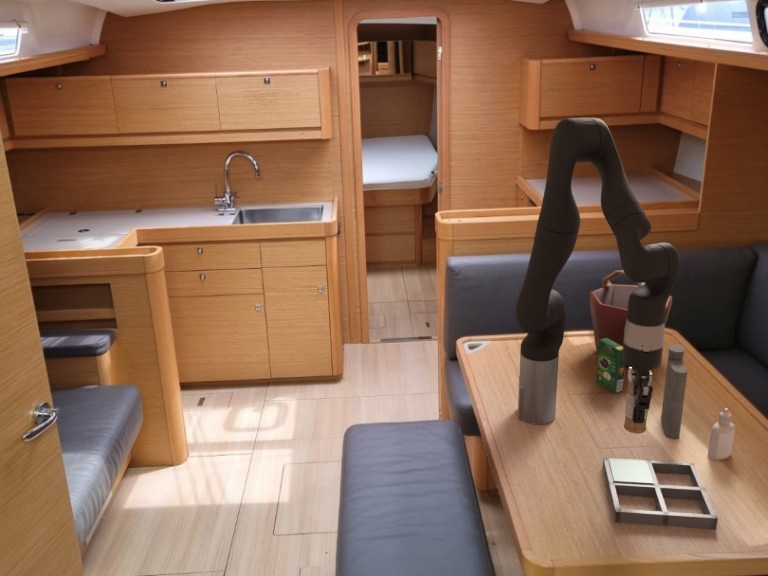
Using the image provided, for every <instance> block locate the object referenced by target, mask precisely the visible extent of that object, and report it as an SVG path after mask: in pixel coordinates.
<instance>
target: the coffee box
mask: <svg viewBox="0 0 768 576" xmlns="http://www.w3.org/2000/svg"><path fill="white" fill-rule="evenodd" d="M622 353H623V346H621V345H619V344H617V343H615V342H614V341H612V340H610V339H608V338H604V339H600V341H599V352H598V353H597V363H596V373H595V383H596V384H598V385H599V386H601V387H603V388H605V389H607V390H608V391H610V393H613V394H615V395H618V394H620V393H623V391H624V390H623V387H624V382H625V381H624V379H625V373H626V372H625V371H626V368H625V363H624V362H623V360H622Z"/></svg>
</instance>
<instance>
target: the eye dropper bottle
mask: <svg viewBox="0 0 768 576" xmlns="http://www.w3.org/2000/svg"><path fill="white" fill-rule="evenodd" d="M718 414H719V415H718V421H717V422H715V423H714V424H713V426H712V427H711V431H710V436H709V443H708V450H707V456H708V457H709V458H710V459H712V460H714V461H723V460H725V459H728V458H729V457H730V456H731V455H732V452H733V446H734V439H735V430H736V426H735V425H736V424H734V423H733V422H732V421H731V420H732V414H731V413H730V412H729V409H728V408H727V407H725V408H723V411H721V412H719V413H718Z"/></svg>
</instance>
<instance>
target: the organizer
mask: <svg viewBox="0 0 768 576" xmlns="http://www.w3.org/2000/svg"><path fill="white" fill-rule="evenodd" d="M602 459H603V460H602V471H603V474H604V475H603V476H604V481H605V484H606V489H607V494H608V497H609V501H610V506H611V511H612V516H613V521H614V523H621V524H624V523H625V524H637V525H650V526H651V525H653V526H664V527H665V526H667V527H681V528H694V529H695V528H696V529H709V530H716V529H717V527H718V526H717V525H718V519H719V518H718V516H717V512H716V511H715V509H714V507H713V504H712V502H711V499H710V497H709V495H708V492H707V490H706V488H705V486H704V484H703V480H702V478H701V476H700V475H699V474H700V473H699V471H698V470H697V467H696V465H695V462H686V461H684V462H683V461H666V460H650V459H648V460H647V459H633V458H631V459H629V458H616V457H615V458H613V457H603V458H602ZM656 474H664V475H665V474H667V475H681V476H683V475H685V476H689V479H690V482H691V484H692V486H685V485H684V486H683V485H671V484H670V485H669V484H659V481H658V478H657V476H656ZM618 496H627V497H640V498H642V497H643V498H653V501H654V503H655V506H656V510H644V509H629V508H627V509H626V508H621V506H620V502H619V498H618ZM665 499H671V500H672V499H673V500H686V501H687V500H688V501H689V500H691V501H699V504H700V507H701V509H702V510H703V513H692V512H691V513H690V512H689V513H687V512H673V511H668V509H667V508H668V507H667V505H666V502H665Z"/></svg>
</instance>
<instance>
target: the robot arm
mask: <svg viewBox="0 0 768 576" xmlns="http://www.w3.org/2000/svg"><path fill="white" fill-rule="evenodd" d="M616 146H617V145H616V144H615V140H614V138H613V135H612V133H611V131H610V128H609V127H608V125H607V124H606V123H605V122H604V120H602V119H601V118H597V117H571V118H564V119H561V120H560V121H559V122H558V123H556V126H555V127H554V129H553V132H552V135H551V140H550V147H549V156H548V163H547V164H548V165H547V173H546V180H545V185H544V187H545V188H544V192H543V197H542V202H541V206H540V207H541V208H540V212H539V216H538V219H537V223H536V228H535V233H534V237H533V238H534V239H533V245H532V249H531V252H530V257H529V261H528V264H527V271H526V273H525V277H524V280H523V283H522V286H521V290H520V292H519V295H518V298H517V301H516V305H515V310H514V313H515V320H516V323H517V325H518V327H519V328H520V329H521V330H522V331H523V332H525V333H527V334H526V335H525V337H524V338H523V339H522V340H521V343H520V348H519V349H520V351H519V352H520V353H519V354H520V355H519V357H520V358H519V376H518V395H517V396H518V398H517V416H518V417H517V420H518V421H522V422H523V421H524V422H525V423H529V424H532V425H533V424H534V425H545V424H550V423H551V422H553V421H554V420H555V418H556V413H557V412H556V411H557V391H558V390H557V389H558V374H559V361H560V355H559V354H560V349H561V347H562V345H563V342H564V335H565V334H564V333H565V329H566V328H565V325H566V316H567V315H566V314H567V310H566V304H565V301H564V299H563V297H562V295H561V294H560V292H558V291H556V290H555V289H553V287H554V284H555V282H556V280H557V278H558V276H559V275H560V273H561V272H562V270H563V268H564V267H565V265H566V264H567V262H568V260H569V259H570V257H571V256H572V253H573V252H574V250H575V246H576V243H577V239H578V235H579V231H580V228H581V227H580V226H581V215H580V211H579V209H578V205H577V202H576V199H575V197H574V194H573V190H572V182H573V181H572V180H573V174H574V169H575V167H576V163H591V164H592V165H593V166H594V167H595V169H596V170H597V171H598V174H599V176H600V179H601V188H600V189H601V190H600V191H601V192H600V206H601V211H602V214H603V216H604V218H605V220H606V222H607V225H608V226H609V227H610V230H611V232H612V234H613V235H614V237H615V240H616V245H617V250H618V254H619V259H620V265H621V267H622V270H623V271H624V273H625V274H626V275H625V276H627V278H628V279H629V280H630V281H633V282H634V283H636V282H637V283H644V282H645V284H644V285H643V286H642V287H641V288H639V289H637V290H635V291H633V292H632V293H631V294H630V296H629V302H628V312H627V321H626V325H625V331H624V342H623V353H622V360H623V362H624V363H625V364H626V365H628V369H627V373H628V372H629V369H634V370H635V373H631V381H632V390H631V393H632V395H633V396H634V403H633V405H634V407H633V417H632V420H633V422H634V423H644V418H645V409H648V410H649V409H650V407H651V406H650V404H651V402H652V401H651V400H652V395H653V391H654V388H653V386H652V385H651V383H652V382H653V373H652V374H650V372H649V371H652V370H654V369H657V368H658V367H660V366H661V365H662V359H663V351H664V342H665V341H664V340H665V334H666V333H665V331H666V330H665V327H664V321H665V312H666V303H667V300H668V298H669V296H671V293H672V291H673V289H674V287H675V285H676V284H675V283H676V281H677V278H678V276H679V273H680V272H679V271H680V267H681V259H680V254H679V252H678V250H677V249H676V247H675V246H674V245H672V244H671V243H668V242H658V243H656V242H655V243H650V244H646V245H645V244H643V243H642V242H641V240H643V239H645V238H646V237H647V236H648V235H649V234H650V233H651V229H652V225H651V222H650V219H649V217H648V216H647V214H646V212H645V211H644V209H643V207H642V205H641V204H640V202H639V200H638V199H637V197H636V195H635V193H634V191H633V189H632V187H631V185H630V182H629V180H628V177H627V175H626V172H625V170H624V169H625V168H624V166H623V163H622V160H621V157H620V155H619V151H618V149H617V147H616ZM637 283H636V284H637ZM635 376H636V377H635ZM635 382H636V383H635ZM626 385H627V386H628V381H627V383H626ZM635 388H636V389H637V390H638V392H636V391H635ZM643 401H644V402H643Z"/></svg>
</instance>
